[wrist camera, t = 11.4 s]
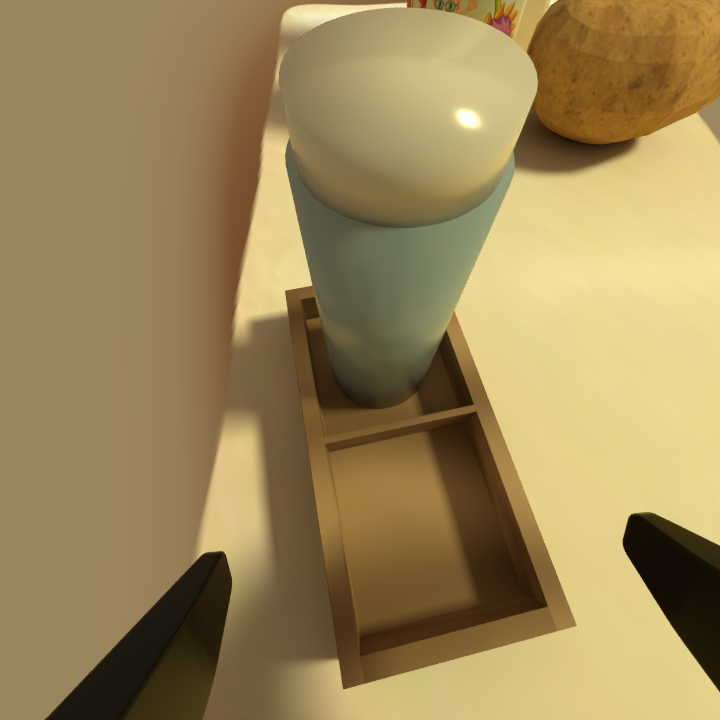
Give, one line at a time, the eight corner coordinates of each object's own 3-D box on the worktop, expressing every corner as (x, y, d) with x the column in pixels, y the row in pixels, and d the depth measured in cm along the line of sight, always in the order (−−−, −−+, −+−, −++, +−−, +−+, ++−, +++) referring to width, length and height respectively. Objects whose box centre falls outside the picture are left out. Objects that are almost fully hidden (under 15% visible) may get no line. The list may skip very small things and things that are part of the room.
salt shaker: (445, 367, 18) (608, 74, 6) (374, 429, 16) (400, 210, 5) (382, 306, 19) (410, -19, 8) (312, 358, 18) (214, 62, 6)
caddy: (540, 607, 14) (576, 625, 12) (346, 658, 13) (343, 689, 11) (427, 292, 20) (435, 263, 18) (294, 317, 20) (285, 290, 18)
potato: (705, 175, 24) (850, 31, 17) (508, 171, 25) (566, 29, 18) (663, 96, 29) (764, -47, 21) (493, 93, 29) (536, -48, 22)
